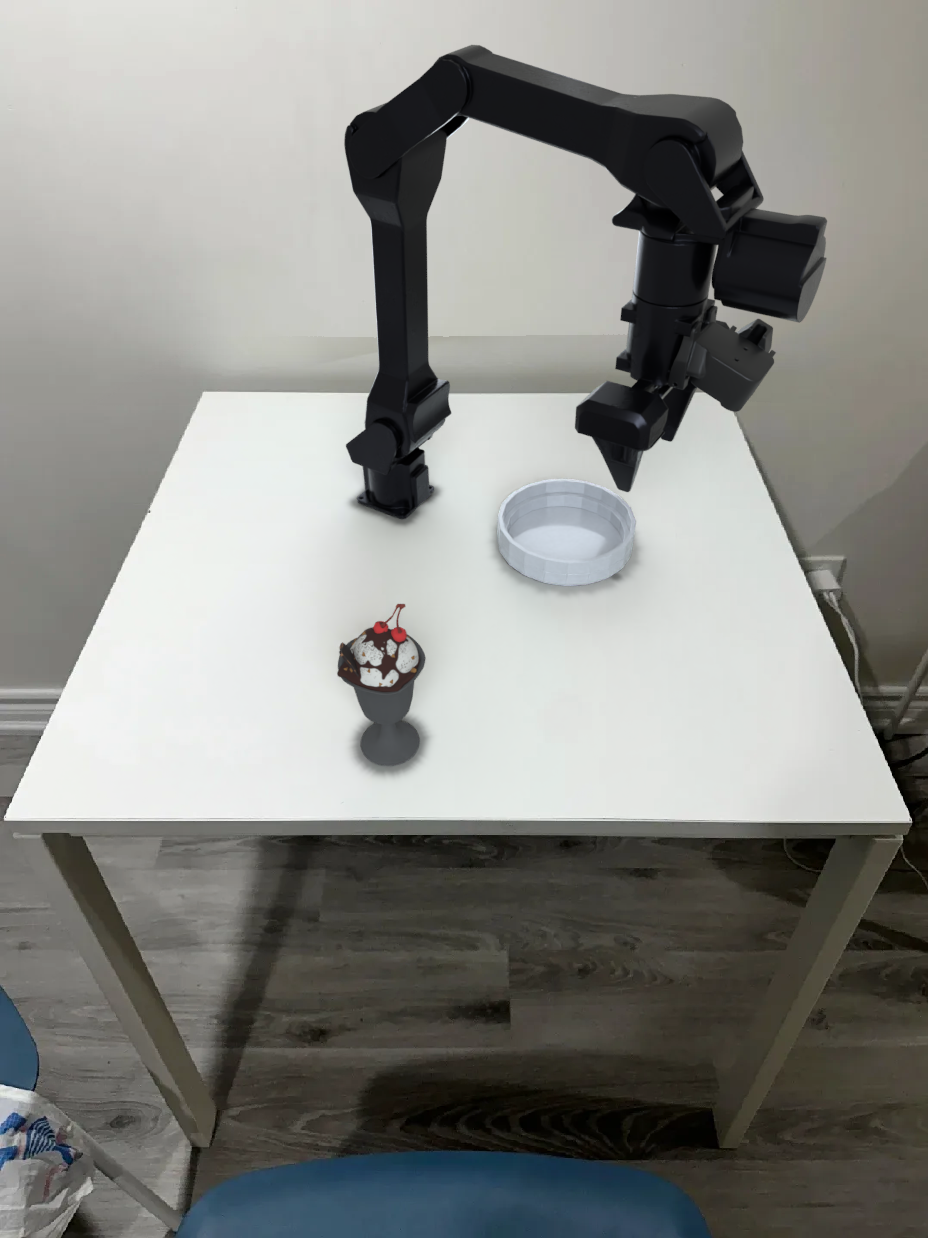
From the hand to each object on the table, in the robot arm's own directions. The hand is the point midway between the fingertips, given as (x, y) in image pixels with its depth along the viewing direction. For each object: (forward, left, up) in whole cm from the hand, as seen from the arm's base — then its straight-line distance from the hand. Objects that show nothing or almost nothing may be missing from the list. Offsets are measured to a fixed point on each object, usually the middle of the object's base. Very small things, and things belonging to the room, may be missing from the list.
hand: (646, 464), depth 78 cm
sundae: (-9, -28, -15) cm, 33 cm away
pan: (-8, +3, -15) cm, 17 cm away
